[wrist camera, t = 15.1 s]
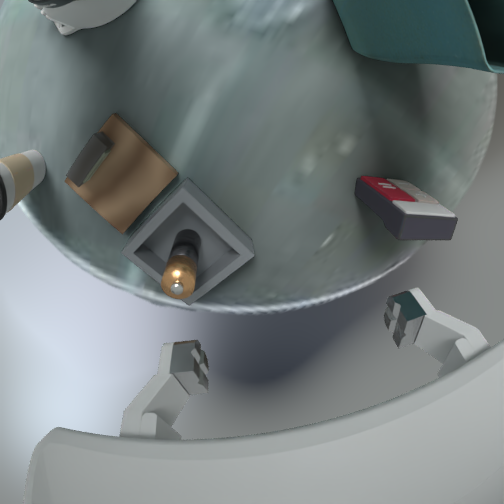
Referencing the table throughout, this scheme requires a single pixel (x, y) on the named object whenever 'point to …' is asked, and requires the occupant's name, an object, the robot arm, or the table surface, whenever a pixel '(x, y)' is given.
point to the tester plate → (119, 173)
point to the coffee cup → (19, 177)
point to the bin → (200, 220)
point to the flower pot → (427, 31)
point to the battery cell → (182, 265)
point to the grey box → (406, 209)
